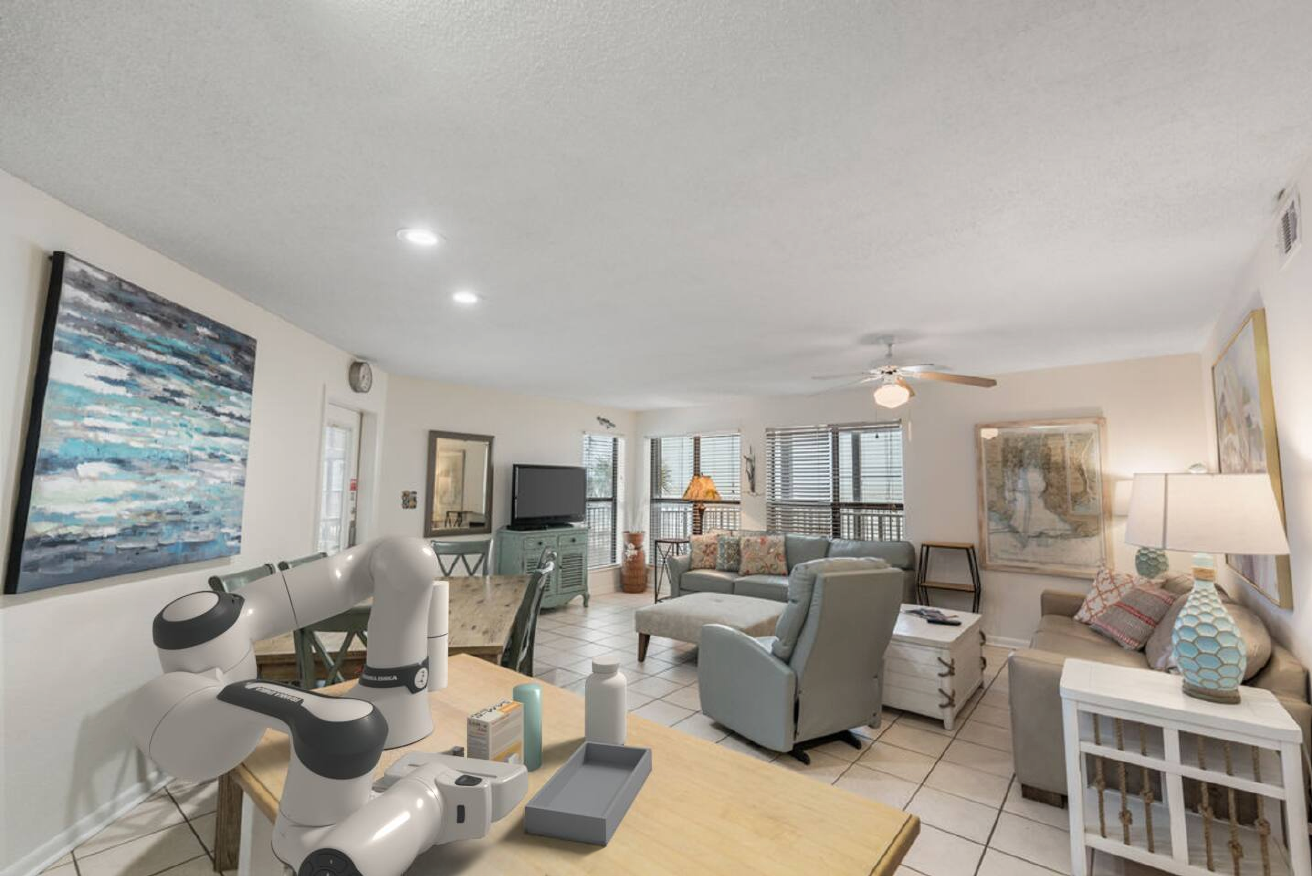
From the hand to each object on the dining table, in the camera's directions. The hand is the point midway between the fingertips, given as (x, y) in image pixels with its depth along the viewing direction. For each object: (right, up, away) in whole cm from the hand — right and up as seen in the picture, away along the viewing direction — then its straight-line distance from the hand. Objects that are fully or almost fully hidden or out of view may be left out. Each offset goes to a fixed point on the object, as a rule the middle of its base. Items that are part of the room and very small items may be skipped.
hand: (487, 754), depth 87 cm
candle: (+4, -8, +12) cm, 15 cm away
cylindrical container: (-29, -13, +52) cm, 61 cm away
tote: (+16, -7, +1) cm, 18 cm away
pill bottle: (+17, -9, +20) cm, 28 cm away
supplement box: (+1, -8, +2) cm, 8 cm away
